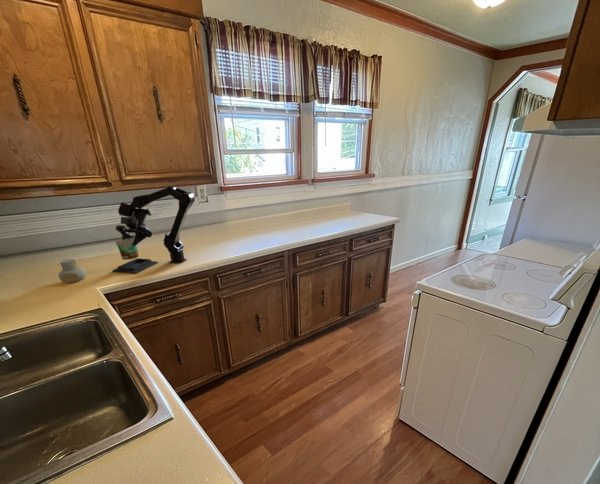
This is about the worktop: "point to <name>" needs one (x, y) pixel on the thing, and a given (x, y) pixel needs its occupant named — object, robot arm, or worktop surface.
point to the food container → (127, 248)
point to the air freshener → (71, 271)
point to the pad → (135, 266)
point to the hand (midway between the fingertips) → (128, 245)
